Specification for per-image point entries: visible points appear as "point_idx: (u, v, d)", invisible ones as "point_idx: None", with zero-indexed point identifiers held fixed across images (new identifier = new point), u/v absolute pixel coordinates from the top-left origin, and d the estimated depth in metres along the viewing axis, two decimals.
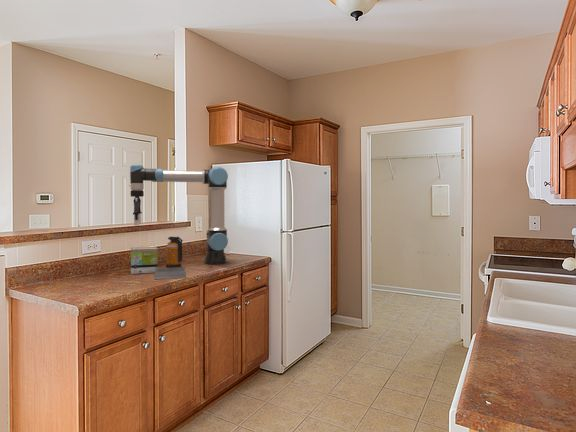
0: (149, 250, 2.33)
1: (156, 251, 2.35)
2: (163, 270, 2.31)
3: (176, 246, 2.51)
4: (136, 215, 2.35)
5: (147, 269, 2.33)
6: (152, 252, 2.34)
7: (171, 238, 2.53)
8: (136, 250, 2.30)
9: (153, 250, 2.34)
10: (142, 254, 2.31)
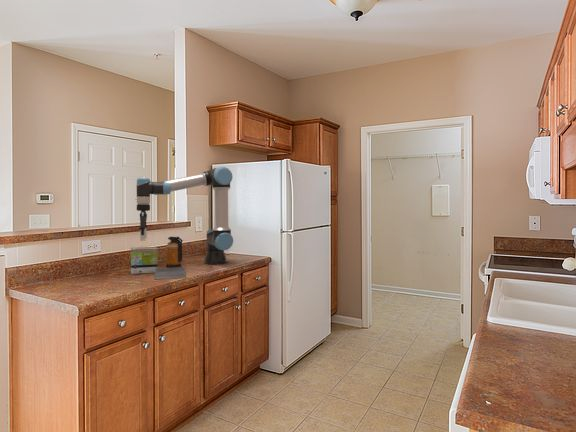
0: (149, 250, 2.33)
1: (156, 251, 2.35)
2: (163, 270, 2.31)
3: (176, 246, 2.51)
4: (142, 230, 2.28)
5: (147, 269, 2.33)
6: (152, 252, 2.34)
7: (171, 238, 2.53)
8: (136, 250, 2.30)
9: (153, 250, 2.34)
10: (142, 254, 2.31)
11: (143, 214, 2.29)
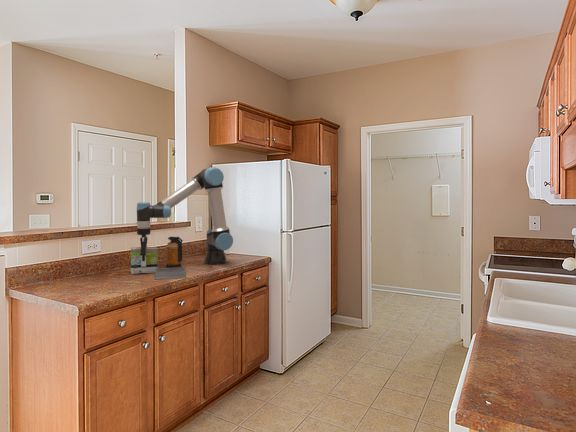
0: (149, 250, 2.33)
1: (156, 251, 2.34)
2: (163, 270, 2.31)
3: (176, 246, 2.51)
4: (143, 256, 2.30)
5: (146, 269, 2.33)
6: (152, 252, 2.34)
7: (171, 238, 2.53)
8: (136, 250, 2.30)
9: (153, 250, 2.34)
10: None
11: (144, 240, 2.30)
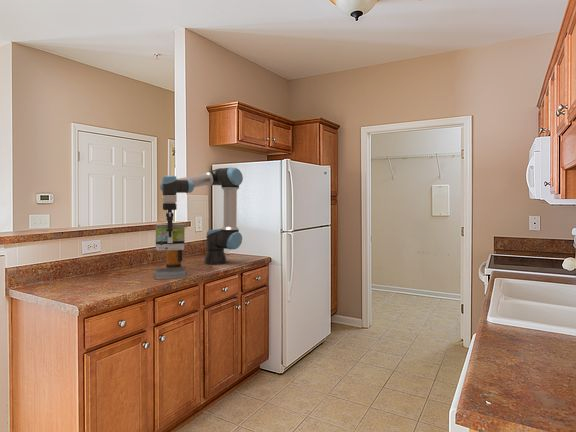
0: (175, 226, 2.21)
1: (183, 227, 2.22)
2: (163, 270, 2.31)
3: None
4: (170, 232, 2.18)
5: (173, 245, 2.21)
6: (179, 228, 2.21)
7: None
8: (162, 225, 2.18)
9: (180, 226, 2.22)
10: None
11: (170, 215, 2.18)
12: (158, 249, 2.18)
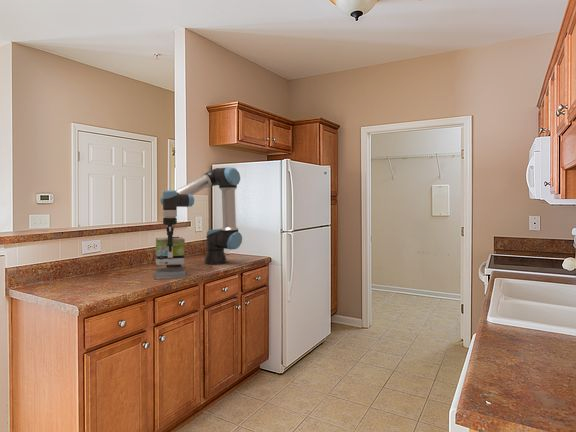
0: (176, 240, 2.21)
1: (183, 241, 2.23)
2: (163, 270, 2.31)
3: None
4: (170, 247, 2.18)
5: (173, 260, 2.21)
6: (179, 242, 2.22)
7: None
8: (162, 240, 2.18)
9: (180, 240, 2.22)
10: None
11: (170, 229, 2.18)
12: (158, 264, 2.18)
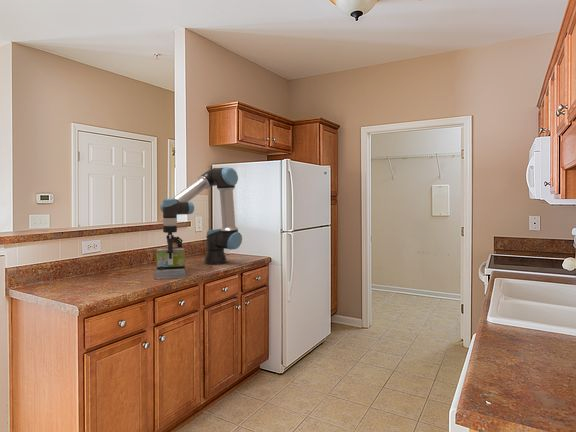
0: (176, 251, 2.21)
1: (183, 252, 2.22)
2: None
3: (176, 246, 2.51)
4: (170, 254, 2.17)
5: (173, 271, 2.21)
6: (179, 253, 2.22)
7: None
8: (162, 251, 2.19)
9: (180, 251, 2.22)
10: None
11: (171, 237, 2.18)
12: None
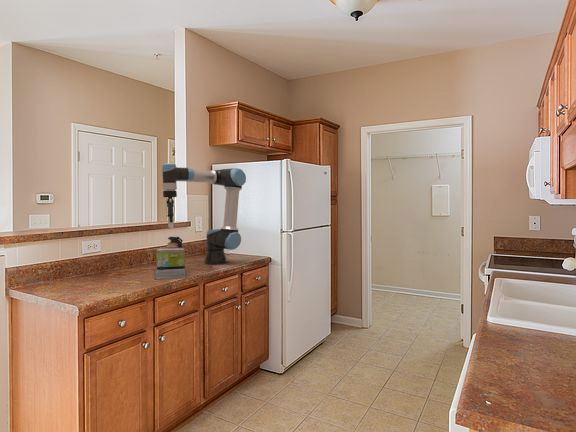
0: (176, 251, 2.21)
1: (183, 252, 2.22)
2: None
3: (176, 246, 2.51)
4: (171, 217, 2.20)
5: (173, 271, 2.21)
6: (179, 253, 2.22)
7: (171, 238, 2.53)
8: (162, 251, 2.19)
9: (180, 251, 2.22)
10: (168, 255, 2.20)
11: (171, 200, 2.21)
12: None
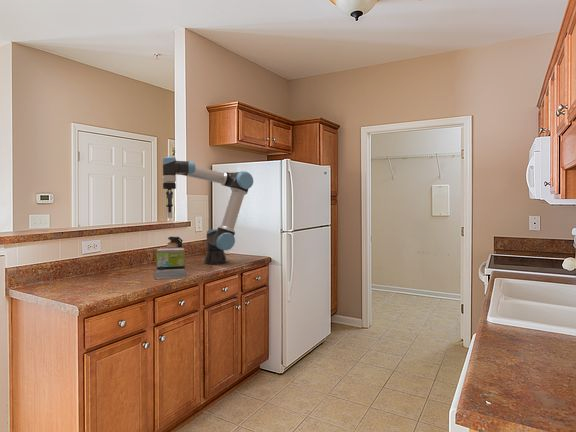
0: (176, 251, 2.21)
1: (183, 252, 2.22)
2: None
3: (176, 246, 2.51)
4: (169, 207, 2.33)
5: (173, 271, 2.21)
6: (179, 253, 2.22)
7: (171, 238, 2.53)
8: (162, 251, 2.19)
9: (180, 251, 2.22)
10: (168, 255, 2.20)
11: (170, 192, 2.34)
12: None
